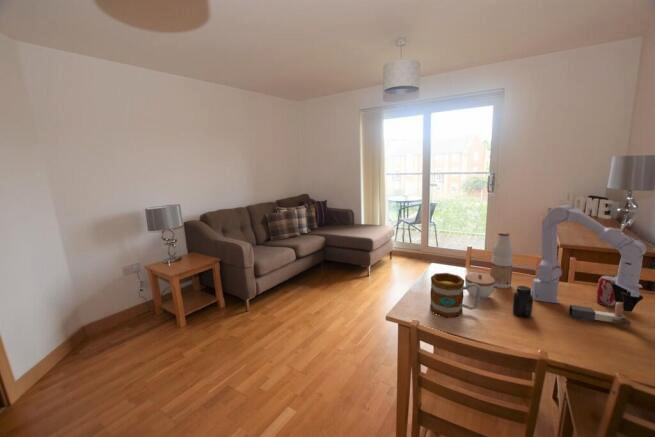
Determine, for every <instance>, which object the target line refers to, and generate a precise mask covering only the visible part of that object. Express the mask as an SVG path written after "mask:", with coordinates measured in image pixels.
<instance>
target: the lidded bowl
mask: <svg viewBox="0 0 655 437" xmlns="http://www.w3.org/2000/svg"><path fill="white" fill-rule="evenodd" d="M464 280H465V281H464V286H467V285H468V284H470V283H475V284H477V285H479V288H480V294H479V300H486V299H488V298H489V297H490V296H491V295H492V294H493V293H494V289H495V287H494V284H495V279H494V278H493V277H491V276H490V275H489V274H485V273H481V272H480V273H478V272H471V273H467V274H466V275H465V277H464ZM466 291H467V293H468V294H469V295H470V296H471V297H472V298H474V299H476V294H477V287H475V286H471V287H470V288H468V289H466Z"/></svg>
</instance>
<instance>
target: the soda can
mask: <svg viewBox="0 0 655 437" xmlns="http://www.w3.org/2000/svg"><path fill="white" fill-rule="evenodd" d="M611 282H612V283H615V276H611V275H601V277H600V278H598V283H597V288H596V294H595V301H597V302H598V303H599V305H600V304H601V305H603V306H607V307H615V306H616V301H615V299H614V292H613V288H612V286H611V284H610V283H611Z"/></svg>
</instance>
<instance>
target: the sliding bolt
mask: <svg viewBox="0 0 655 437" xmlns="http://www.w3.org/2000/svg"><path fill="white" fill-rule="evenodd" d="M594 311H595V319H594V321H596V320H597V321H600V322H601V321H602V322H609V323H611V322H613V318H619V319H624V318H623V316H622V314H623V313H624V310H623V302H616V305H614V311H613V313H608V312H607V311H599V310H594Z"/></svg>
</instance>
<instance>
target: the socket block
mask: <svg viewBox="0 0 655 437" xmlns="http://www.w3.org/2000/svg"><path fill="white" fill-rule="evenodd" d="M607 313H614V311H613V312H611V311H608V312H607ZM622 316H623V318H624V319H619V318H613V322H610V323H611V325H612V326H613V327H616V328H622V329H630V328H631V324H632V323H631V320H630V319H629V318H628V316H626V315H625V314H622Z"/></svg>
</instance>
